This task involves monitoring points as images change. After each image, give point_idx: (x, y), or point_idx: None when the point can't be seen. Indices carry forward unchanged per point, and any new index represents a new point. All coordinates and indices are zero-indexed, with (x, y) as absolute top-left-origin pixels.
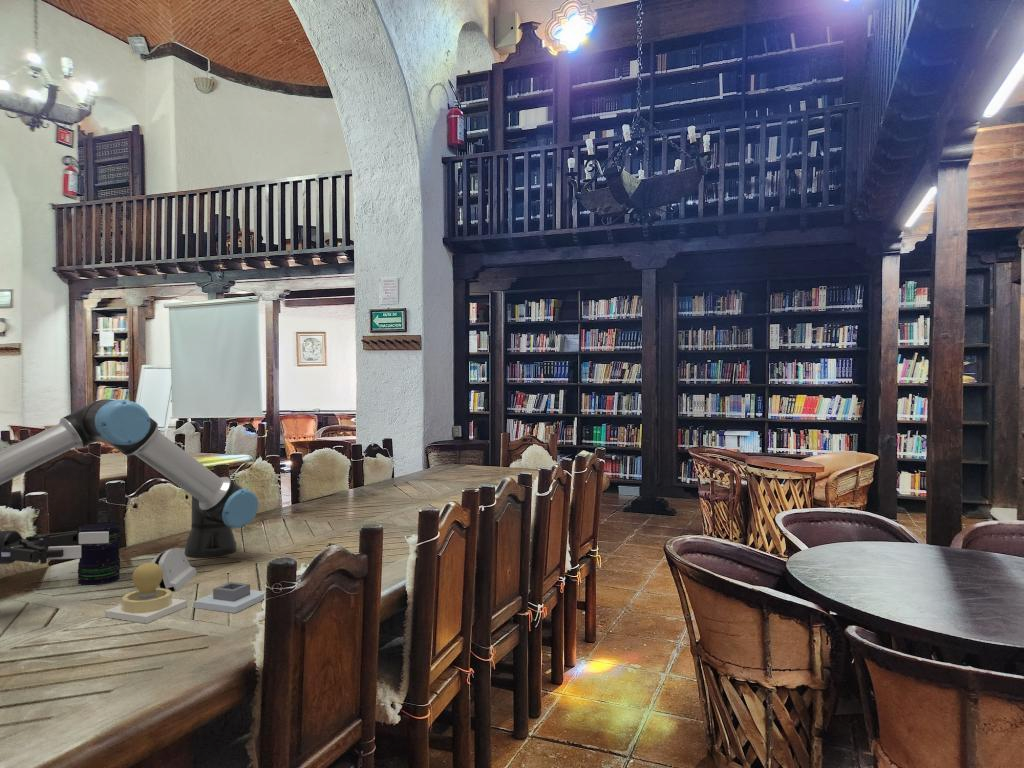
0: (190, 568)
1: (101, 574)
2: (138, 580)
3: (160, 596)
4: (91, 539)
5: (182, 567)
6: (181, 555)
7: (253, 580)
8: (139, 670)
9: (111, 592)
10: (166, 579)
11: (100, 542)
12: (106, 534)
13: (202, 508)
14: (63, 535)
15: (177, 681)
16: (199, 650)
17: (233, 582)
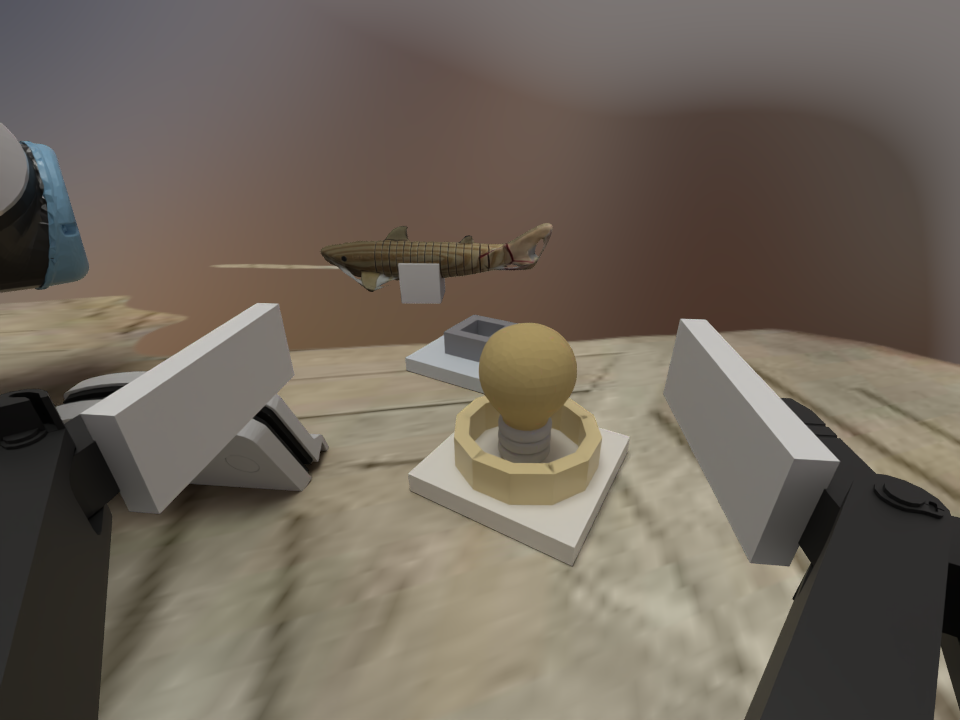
0: None
1: None
2: (575, 379)
3: (477, 428)
4: (226, 406)
5: None
6: None
7: (326, 352)
8: (896, 410)
9: (185, 652)
10: (306, 435)
11: (268, 393)
12: (280, 321)
13: None
14: (34, 544)
15: (893, 368)
16: (755, 365)
17: (451, 328)
